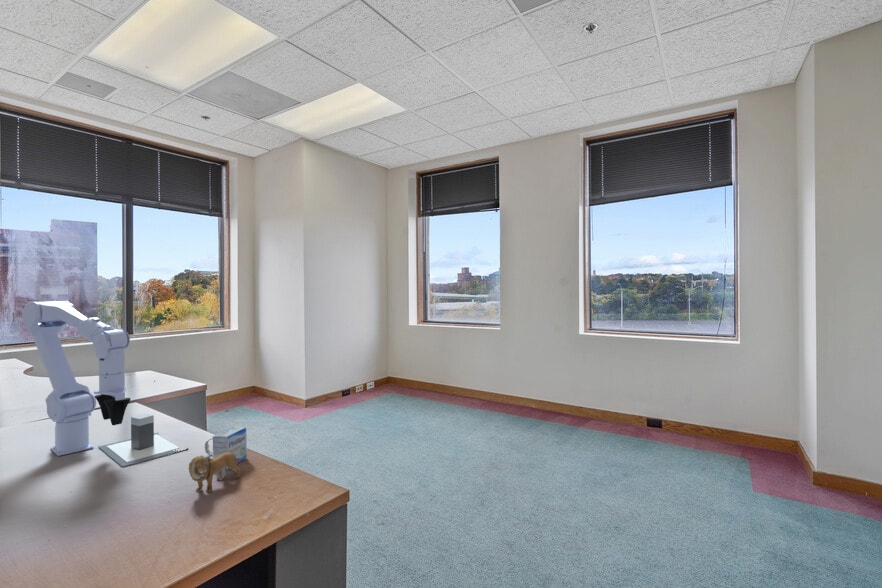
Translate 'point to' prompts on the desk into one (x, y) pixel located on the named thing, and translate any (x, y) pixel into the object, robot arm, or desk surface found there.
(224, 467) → the lion figurine
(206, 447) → the wristwatch
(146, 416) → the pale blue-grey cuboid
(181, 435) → the desk surface
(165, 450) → the desk mat
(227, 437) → the medicine box
